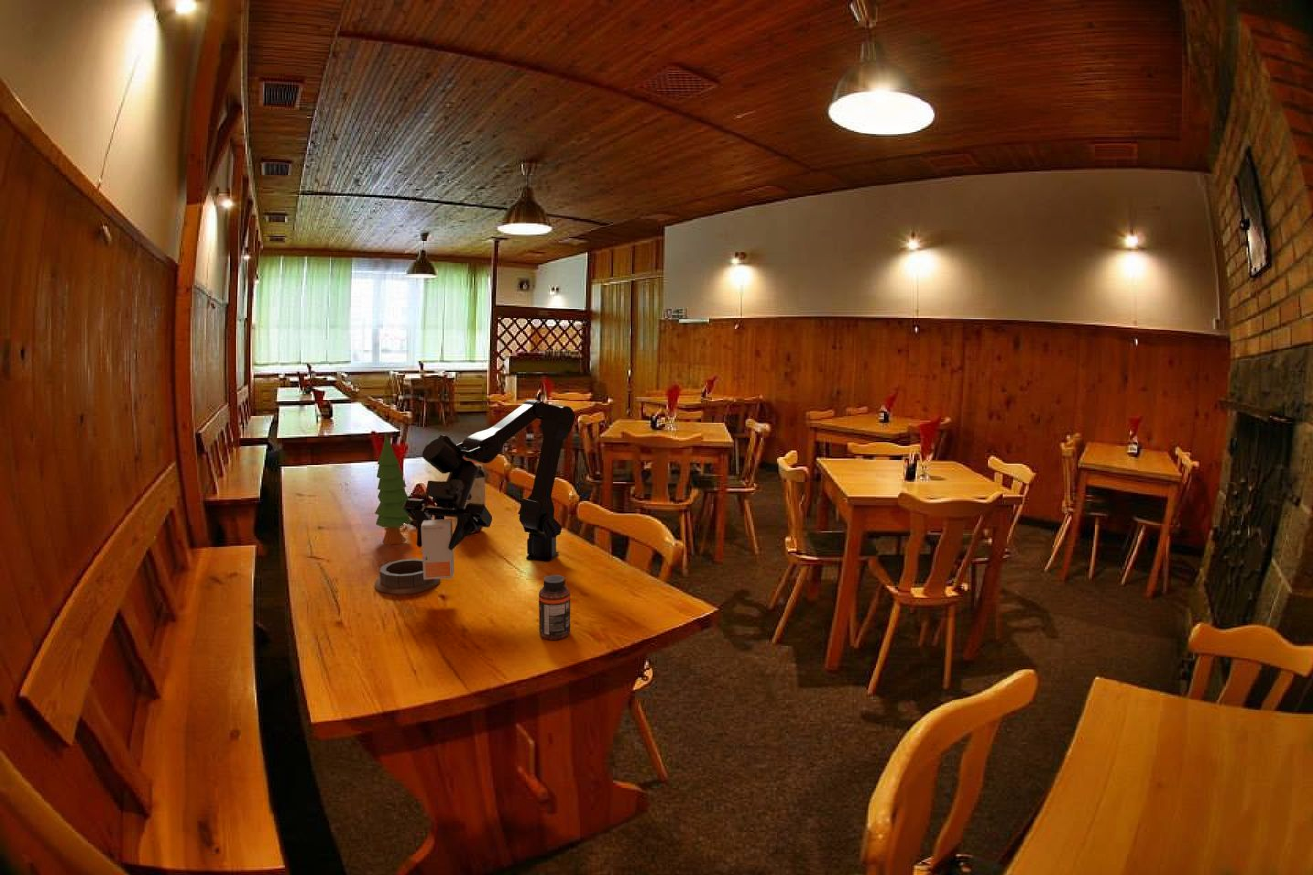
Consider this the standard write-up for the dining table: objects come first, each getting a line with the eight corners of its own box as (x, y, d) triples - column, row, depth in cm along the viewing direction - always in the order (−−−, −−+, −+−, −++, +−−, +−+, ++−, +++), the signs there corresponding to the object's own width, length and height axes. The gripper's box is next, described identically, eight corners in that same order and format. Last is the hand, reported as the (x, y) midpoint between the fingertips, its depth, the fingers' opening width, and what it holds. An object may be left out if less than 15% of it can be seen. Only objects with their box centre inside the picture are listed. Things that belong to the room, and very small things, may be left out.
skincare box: (423, 580, 146) (419, 525, 144) (426, 573, 150) (422, 519, 148) (453, 578, 147) (450, 523, 145) (455, 571, 151) (452, 518, 149)
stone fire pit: (451, 575, 164) (451, 560, 163) (418, 597, 150) (417, 580, 150) (398, 569, 167) (398, 554, 166) (361, 590, 154) (360, 574, 153)
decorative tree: (371, 540, 189) (366, 431, 184) (403, 533, 196) (399, 428, 192) (389, 548, 183) (384, 435, 178) (421, 540, 190) (417, 432, 185)
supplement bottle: (540, 628, 137) (540, 572, 135) (570, 627, 137) (570, 572, 135) (537, 641, 131) (537, 583, 129) (569, 641, 131) (569, 583, 129)
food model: (462, 538, 193) (461, 467, 190) (448, 533, 197) (446, 464, 194) (491, 530, 200) (490, 462, 197) (476, 526, 204) (475, 459, 201)
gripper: (405, 462, 151) (376, 525, 142) (484, 467, 146) (459, 533, 138) (427, 489, 160) (401, 550, 151) (502, 495, 155) (480, 558, 146)
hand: (434, 547), depth 146 cm, fingers closed on skincare box, 7 cm apart
